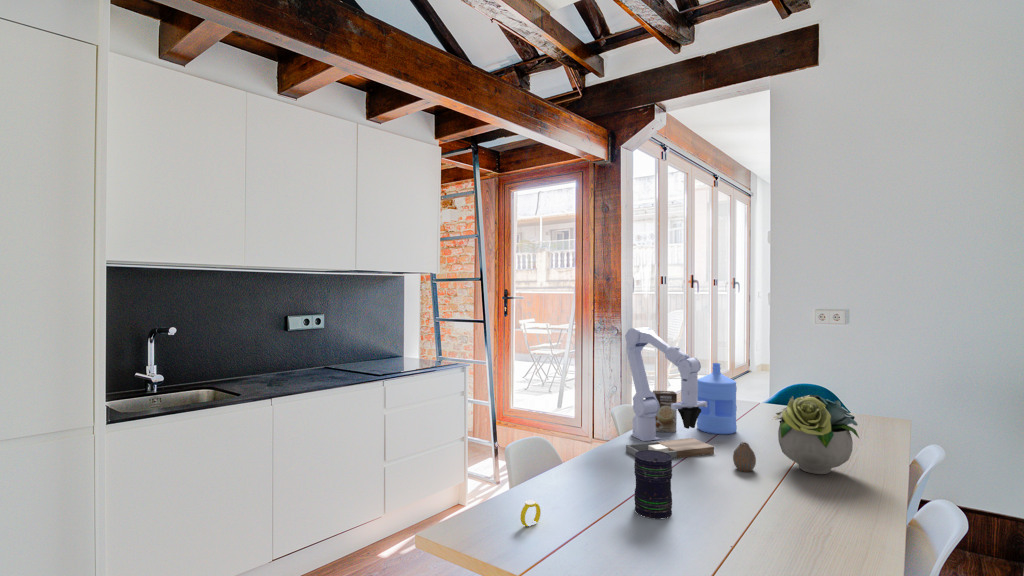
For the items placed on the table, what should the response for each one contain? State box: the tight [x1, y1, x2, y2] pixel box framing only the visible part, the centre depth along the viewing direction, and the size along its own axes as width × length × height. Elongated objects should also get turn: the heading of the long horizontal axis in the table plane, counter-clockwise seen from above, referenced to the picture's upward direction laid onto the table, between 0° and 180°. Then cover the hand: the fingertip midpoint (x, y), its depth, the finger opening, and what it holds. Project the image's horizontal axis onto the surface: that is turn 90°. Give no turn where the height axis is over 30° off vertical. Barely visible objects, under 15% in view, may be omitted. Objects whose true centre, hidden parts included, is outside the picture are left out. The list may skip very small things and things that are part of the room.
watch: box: [520, 499, 542, 527], centre depth 132 cm, size 6×3×6 cm, turn 133°
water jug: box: [696, 362, 738, 435], centre depth 221 cm, size 16×16×28 cm
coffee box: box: [652, 390, 678, 433], centre depth 221 cm, size 9×6×16 cm
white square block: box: [648, 444, 669, 452], centre depth 188 cm, size 5×5×2 cm
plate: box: [657, 437, 715, 459], centre depth 193 cm, size 12×16×2 cm
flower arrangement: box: [772, 394, 860, 475], centre depth 172 cm, size 25×25×24 cm
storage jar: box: [633, 450, 673, 520], centre depth 141 cm, size 10×10×15 cm
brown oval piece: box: [732, 441, 757, 473], centre depth 173 cm, size 7×7×9 cm
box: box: [625, 441, 678, 460], centre depth 188 cm, size 12×13×2 cm
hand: (689, 427), depth 193 cm, fingers closed
